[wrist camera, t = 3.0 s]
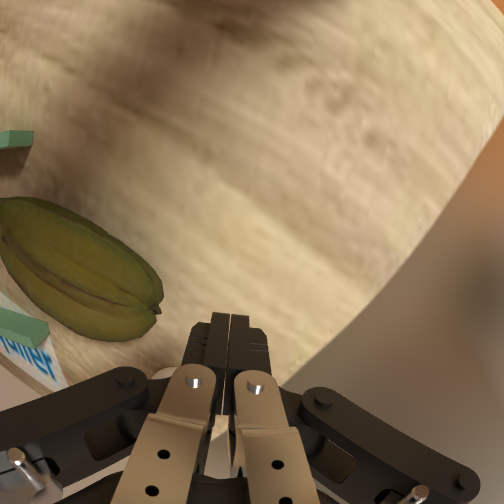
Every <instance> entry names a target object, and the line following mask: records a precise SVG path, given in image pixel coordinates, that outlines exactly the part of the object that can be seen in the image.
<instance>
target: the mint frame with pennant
mask: <svg viewBox="0 0 504 504" xmlns="http://www.w3.org/2000/svg"><path fill="white" fill-rule="evenodd" d="M32 139H33V131H17V130H9V131H5V132H0V150H5V149H12V148H18V147H25V146H32ZM49 333H50V332H49V328H48V324H47V322H44V321H41V320H38V319H34V318H31V317H28V316H24V315H21V314H18V313H15V312H12V311H9V310H6V309H3V308H0V336H2V337H4V338H7V339H9V340H11V341H14V342H16V343H19V344H22V345H24V346H27V347H29V348H32V349H35V348H36V347H37V346H38V345H39V343H40V342H41V341H42V340H43V339H44V338H45V337H46V336H47V335H48V334H49Z"/></svg>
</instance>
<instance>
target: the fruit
mask: <svg viewBox="0 0 504 504" xmlns="http://www.w3.org/2000/svg"><path fill="white" fill-rule="evenodd" d="M0 254H1V258H2V260H3V263H4V265H5V267H6V269H7V271H8V273H9V274H10V275H11V277H12V278H13V279H14V281H15V282H16V283H17V285H18V286H19V287H20V288H21V289H22V291H23V292H24V293H25V294H26V295H27V296H28V298H29V299H30V300H31V301H32V302H33V303H34V304H35V305H36V306H37V307H39V308H40V309H41V310H42V311H44V312H45V313H46V314H48V315H49V316H51V317H52V318H54V319H56V320H57V321H58V322H60V323H61V324H63V325H64V326H66V327H67V328H69V329H70V330H72V331H74V332H75V333H77V334H79V335H82V336H85V337H88V338H90V339H94V340H101V341H107V342H123V341H128V340H132V339H136V338H140V337H142V336H143V335H144V334H145V333H146V332H147V331H148V330H149V329H150V328H151V327H152V326H153V325H154V324H155V323H156V321H157V320H156V316H155V315H157V314H161V313H162V312H161V309H160V307H159V305H158V304H159V303H160V302H161V301H162V300H163V298H164V293H163V286H162V281H161V279H160V278H159V276H158V275H157V273H156V272H155V270H154V269H153V268H152V267H151V266H150V265H149V264H148V263H147V262H146V261H145V260H144V259H143V258H142V257H140V256H139V255H138V254H137V253H135V252H134V251H133V250H131V249H130V248H129V247H128V246H126V245H125V244H124V243H123V242H121V241H120V240H118V239H116V238H114V237H113V236H111V235H109V234H108V233H107V232H106V231H104V230H103V229H102V228H100V227H99V226H97V225H96V224H94V223H93V222H91V221H89V220H87V219H85V218H83V217H81V216H79V215H77V214H75V213H74V212H72V211H70V210H68V209H65V208H63V207H61V206H59V205H56V204H54V203H51V202H48V201H45V200H42V199H38V198H35V197H11V198H0Z"/></svg>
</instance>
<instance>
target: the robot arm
mask: <svg viewBox="0 0 504 504" xmlns="http://www.w3.org/2000/svg"><path fill="white" fill-rule="evenodd" d="M229 321H230V314H227V313H218V312H213V313H212V318H211V323H203V322H198V323H197V324H196V325H195V326H193V327H192V329H191V332H190V336H189V339H188V343H187V346H186V350H185V353H184V357H183V360H182V364H181V366H180V367H178V368H177V369H176V370H175V371H174V372H173V374H172V376H170V377H168V378H163V379H149V380H147V377H146V375H145V374H144V373H143V372H142V371H141V370H139V369H136V368H133V367H118V368H115V369H112V370H110V371H107V372H105V373H103V374H100V375H98V376H95V377H93V378H90V379H88V380H85V381H83V382H80V383H78V384H75V385H73V386H70V387H68V388H65V389H62V390H60V391H57V392H54V393H52V394H49V395H46V396H44V397H41V398H38V399H36V400H33V401H30V402H27V403H24V404H21V405H18V406H15V407H13V408H10V409H7V410H4V411H1V412H0V504H339V503H338V502H337V501H335V500H334V499H333V498H331V497H330V496H328V495H327V494H325V493H323V492H322V491H320V490H317V489H316V488H315V484H314V481H313V478H315V479H316V480H317V481H318V482H320V483H321V484H323V485H324V486H325V487H327V488H328V489H329V490H331V491H332V492H334V493H335V494H336V495H338V496H339V497H341V498H342V499H344V500H345V501H347V502H348V503H350V504H468V503H469V502H470V501H471V500H473V499H474V498H475V497H476V496H477V495H478V493H479V491H480V479H479V477H478V475H477V474H476V473H475V472H474V471H473V470H471V469H470V468H468V467H466V466H464V465H462V464H460V463H458V462H456V461H454V460H452V459H450V458H448V457H446V456H444V455H442V454H440V453H438V452H436V451H435V450H433V449H431V448H429V447H427V446H425V445H423V444H422V443H420V442H418V441H416V440H414V439H413V438H411V437H409V436H407V435H405V434H404V433H402V432H400V431H399V430H397V429H395V428H394V427H392V426H390V425H388V424H387V423H385V422H383V421H382V420H380V419H378V418H377V417H375V416H374V415H372V414H370V413H369V412H367V411H365V410H364V409H362V408H361V407H359V406H357V405H356V404H354V403H353V402H351V401H349V400H348V399H346V398H345V397H343V396H342V395H340V394H339V393H337V392H336V391H333V390H332V389H328V388H325V387H314V388H311V389H308V390H307V391H305V393H304V394H303V395H300V394H296V393H292V392H289V391H286V390H284V389H282V388H280V387H279V386H278V384H277V381H276V380H275V379H274V378H273V377H272V374H271V366H270V358H269V352H268V345H267V344H268V343H267V336H266V335H265V333H264V332H263V331H262V330H261V329H259V328H249V316H246V315H236V314H231V323H230V331H229ZM228 333H229V340H228ZM227 346H228V350H227ZM226 360H227V361H226ZM225 372H226V375H225ZM224 381H225V390H224ZM223 390H224V405H223V415H229V423H228V430H227V437H228V452H229V466H230V478H229V479H215V478H212V477H209V476H205V475H204V470H205V465H206V460H207V455H208V450H209V445H210V440H211V435H212V428H213V426H214V424H215V415H216V414H218V415H221V409H222V400H223ZM328 439H329V440H330V441H332V442H333V443H334V444H336V445H337V446H339V447H340V448H342V449H343V450H344V451H343V450H342V449H340V448H339V447H337V446H336V445H334V444H333V443H332V442H330V441H329V440H328ZM345 451H346V452H347V453H349V454H350V455H352V456H353V457H354V458H353V457H352V456H350V455H349V454H347V453H346V452H345ZM129 455H130V457H129V459H128V462H127V464H126V467H125V469H124V471H120V472H116V473H113V474H111V475H108V476H106V477H104V478H102V479H101V480H99V481H97V482H95V483H93V484H91V485H90V486H88V487H86V488H84V489H82V490H80V491H78V492H76V493H74V494H72V495H70V496H68V497H66V498H64V499H62V500H61V498H62V495H63V488H64V487H66V486H69V485H71V484H73V483H75V482H77V481H80V480H82V479H84V478H86V477H88V476H90V475H92V474H94V473H96V472H98V471H100V470H102V469H104V468H106V467H108V466H110V465H112V464H114V463H116V462H118V461H119V460H121V459H123V458H125V457H127V456H129ZM312 477H313V478H312Z"/></svg>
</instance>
